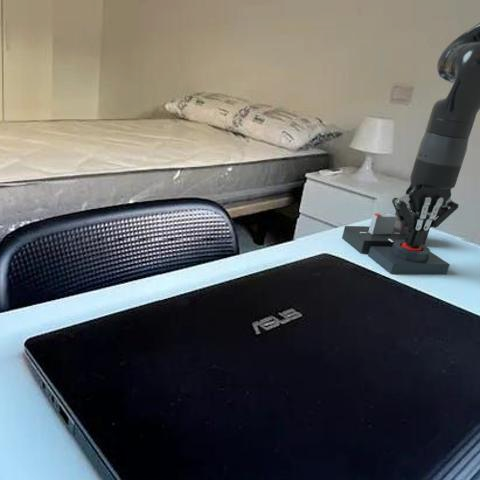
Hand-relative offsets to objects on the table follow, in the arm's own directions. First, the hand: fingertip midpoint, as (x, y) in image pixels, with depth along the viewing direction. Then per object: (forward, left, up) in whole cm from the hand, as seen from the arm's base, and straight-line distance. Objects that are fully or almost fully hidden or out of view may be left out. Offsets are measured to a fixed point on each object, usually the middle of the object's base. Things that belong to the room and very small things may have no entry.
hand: (412, 246), depth 97 cm
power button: (0, 0, -2) cm, 2 cm away
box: (-9, -13, -4) cm, 16 cm away
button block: (0, 0, -4) cm, 4 cm away
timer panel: (+1, -9, -4) cm, 10 cm away
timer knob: (+1, -9, -1) cm, 9 cm away
